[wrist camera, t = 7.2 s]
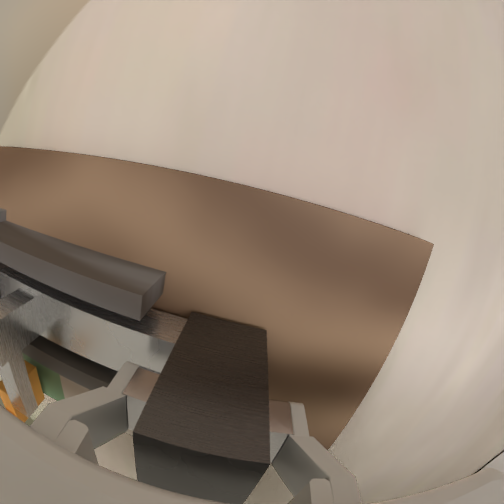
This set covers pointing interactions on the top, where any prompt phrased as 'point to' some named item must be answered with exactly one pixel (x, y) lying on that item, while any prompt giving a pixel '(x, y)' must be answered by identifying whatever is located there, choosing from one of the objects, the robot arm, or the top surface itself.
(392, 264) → the gauge base
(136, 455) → the grey notched block
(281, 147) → the top surface
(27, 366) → the orange angled bar
